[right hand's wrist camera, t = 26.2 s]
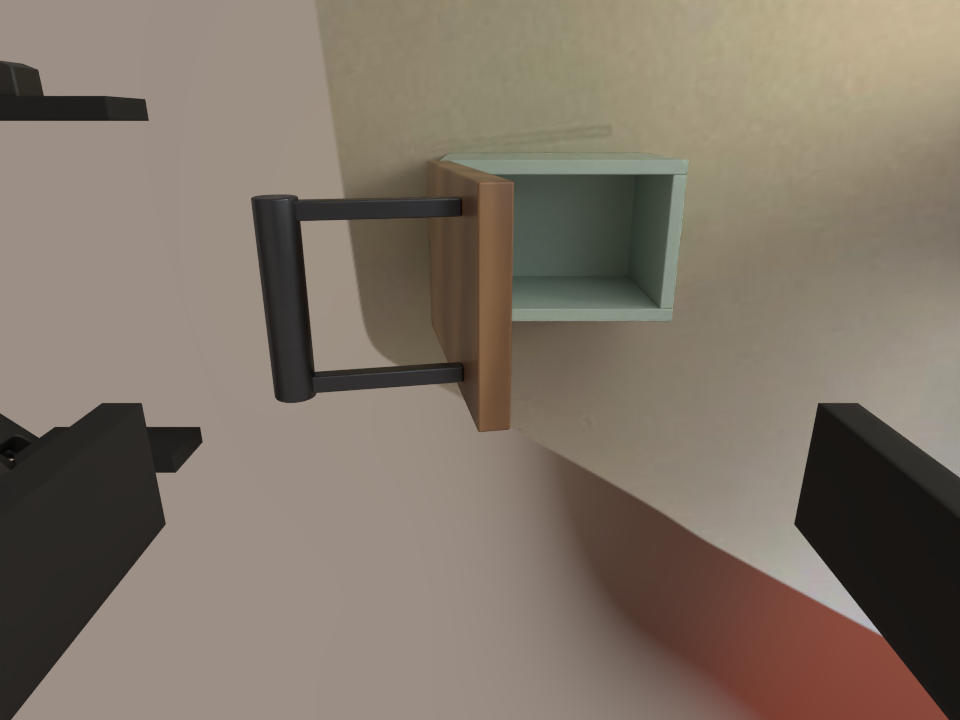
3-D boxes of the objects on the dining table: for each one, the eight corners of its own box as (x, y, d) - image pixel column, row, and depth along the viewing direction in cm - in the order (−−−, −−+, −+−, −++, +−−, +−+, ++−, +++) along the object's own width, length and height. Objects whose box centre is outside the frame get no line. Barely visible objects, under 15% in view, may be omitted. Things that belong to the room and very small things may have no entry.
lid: (515, 180, 21) (232, 185, 20) (510, 430, 24) (267, 452, 23) (450, 160, 34) (277, 162, 33) (452, 324, 37) (296, 333, 36)
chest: (645, 152, 44) (689, 159, 35) (634, 283, 47) (671, 321, 38) (448, 153, 44) (439, 160, 35) (450, 283, 47) (443, 321, 38)
